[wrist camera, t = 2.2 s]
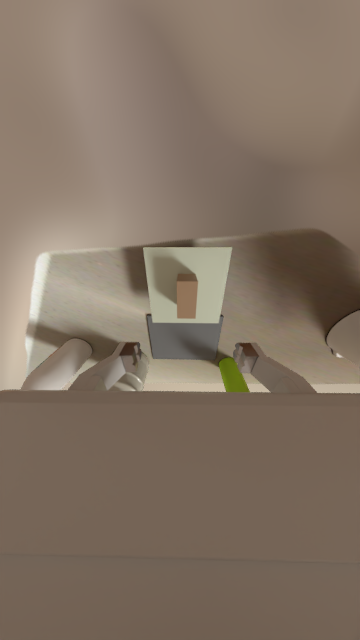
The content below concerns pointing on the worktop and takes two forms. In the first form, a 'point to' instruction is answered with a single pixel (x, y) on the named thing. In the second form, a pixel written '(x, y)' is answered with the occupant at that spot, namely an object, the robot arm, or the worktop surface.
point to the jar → (133, 378)
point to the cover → (186, 283)
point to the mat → (184, 340)
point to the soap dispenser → (232, 376)
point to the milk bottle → (59, 366)
